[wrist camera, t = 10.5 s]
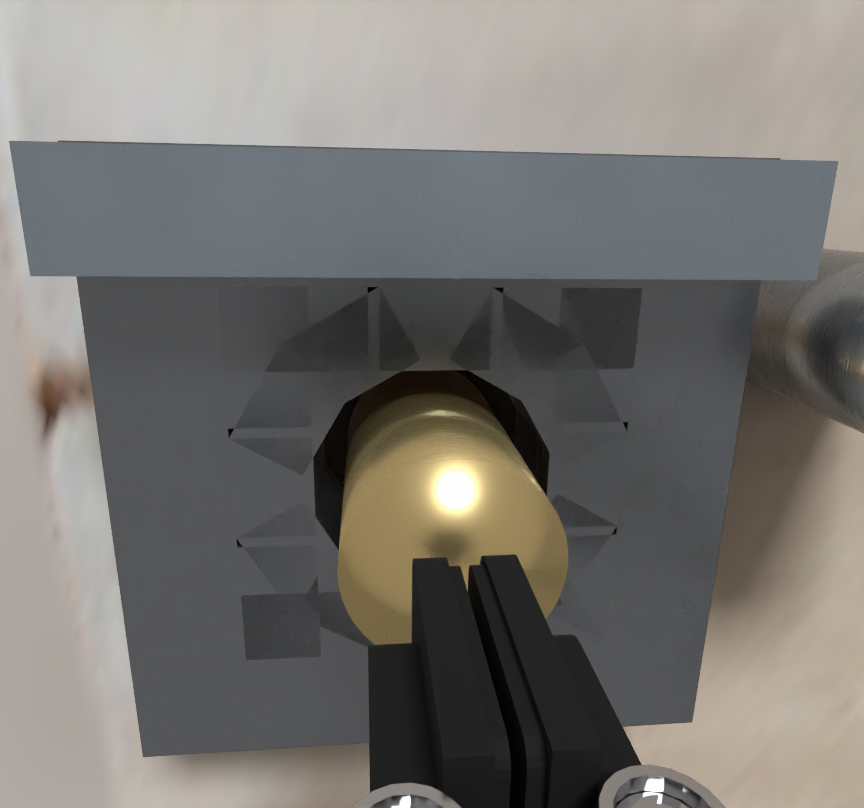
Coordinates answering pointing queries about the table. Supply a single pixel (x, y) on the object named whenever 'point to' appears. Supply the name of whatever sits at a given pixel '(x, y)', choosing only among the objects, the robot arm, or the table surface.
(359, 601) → the brass cylinder plug
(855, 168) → the table surface
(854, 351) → the metal cylinder plug
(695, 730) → the table surface
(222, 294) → the jig
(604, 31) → the table surface
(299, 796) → the table surface
